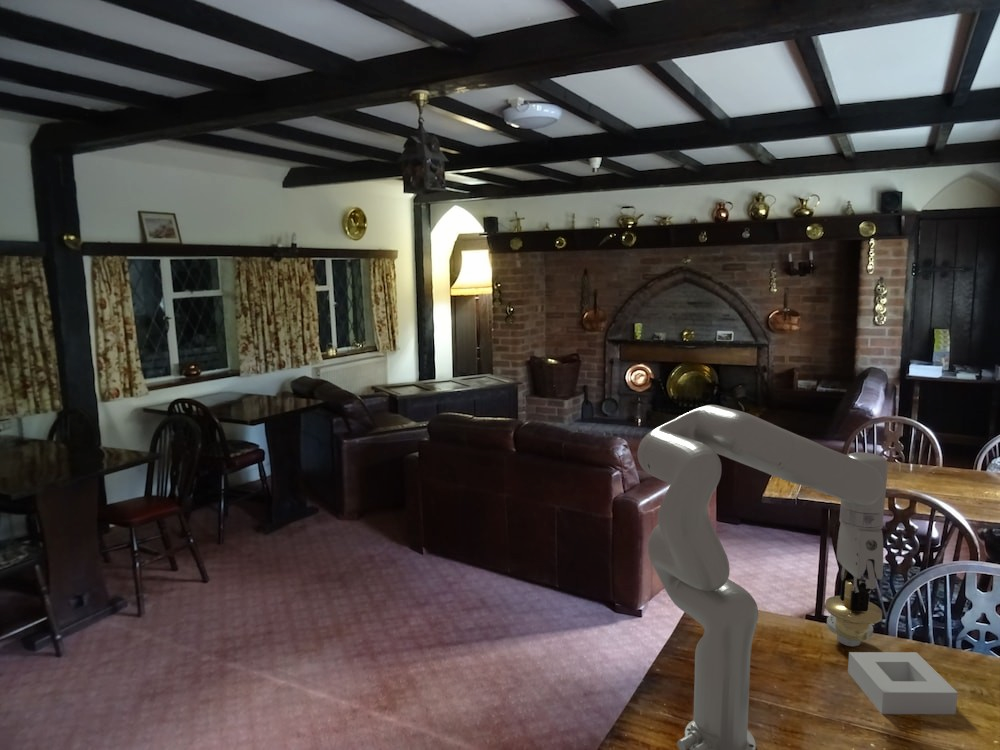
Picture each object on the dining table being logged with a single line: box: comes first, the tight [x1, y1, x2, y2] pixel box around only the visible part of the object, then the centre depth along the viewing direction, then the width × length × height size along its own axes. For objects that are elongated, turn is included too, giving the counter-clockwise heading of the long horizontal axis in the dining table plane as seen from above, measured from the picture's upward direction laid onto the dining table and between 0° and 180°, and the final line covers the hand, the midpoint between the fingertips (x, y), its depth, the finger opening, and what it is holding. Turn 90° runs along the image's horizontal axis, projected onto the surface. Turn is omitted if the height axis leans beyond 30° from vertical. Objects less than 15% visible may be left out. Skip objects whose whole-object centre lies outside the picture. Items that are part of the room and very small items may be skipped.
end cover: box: [825, 579, 883, 642], centre depth 137 cm, size 10×10×10 cm
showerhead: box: [826, 614, 874, 647], centre depth 158 cm, size 9×7×10 cm
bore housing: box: [847, 651, 959, 715], centre depth 140 cm, size 14×14×6 cm
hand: (853, 604), depth 137 cm, fingers closed on end cover, 3 cm apart
